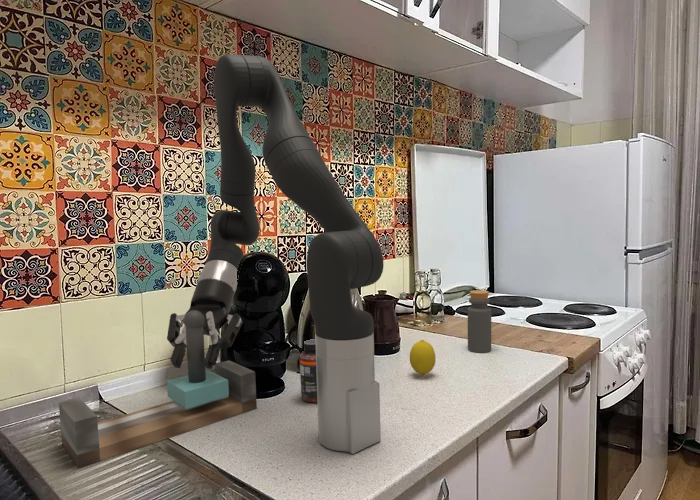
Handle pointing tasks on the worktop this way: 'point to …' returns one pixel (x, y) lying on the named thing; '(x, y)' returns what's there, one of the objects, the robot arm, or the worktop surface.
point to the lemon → (422, 357)
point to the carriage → (196, 370)
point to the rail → (150, 420)
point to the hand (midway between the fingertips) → (191, 366)
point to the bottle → (479, 322)
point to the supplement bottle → (308, 371)
